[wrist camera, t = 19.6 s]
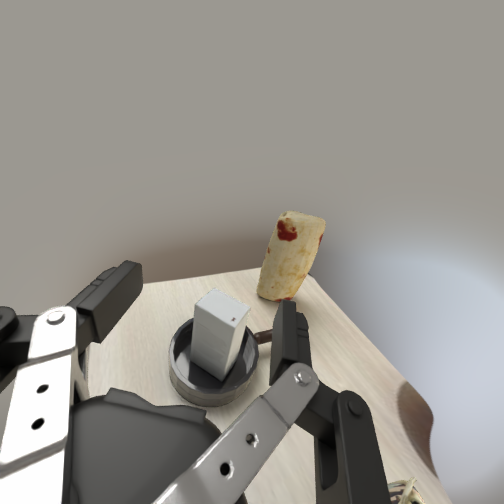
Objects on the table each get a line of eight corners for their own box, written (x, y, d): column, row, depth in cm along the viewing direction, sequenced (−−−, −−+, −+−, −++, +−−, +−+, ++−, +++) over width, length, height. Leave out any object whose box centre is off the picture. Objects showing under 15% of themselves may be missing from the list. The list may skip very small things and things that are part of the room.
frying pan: (175, 422, 28) (176, 408, 26) (164, 335, 38) (164, 320, 36) (266, 389, 34) (273, 376, 32) (237, 320, 43) (241, 307, 41)
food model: (256, 306, 47) (283, 218, 36) (251, 284, 52) (273, 202, 42) (300, 307, 49) (338, 225, 39) (291, 286, 55) (321, 208, 44)
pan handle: (253, 348, 36) (256, 341, 35) (249, 338, 38) (251, 331, 37) (308, 333, 41) (312, 327, 40) (303, 325, 42) (306, 319, 41)
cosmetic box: (237, 360, 36) (252, 306, 30) (222, 383, 33) (235, 329, 26) (205, 339, 38) (214, 285, 31) (188, 360, 34) (193, 304, 28)
